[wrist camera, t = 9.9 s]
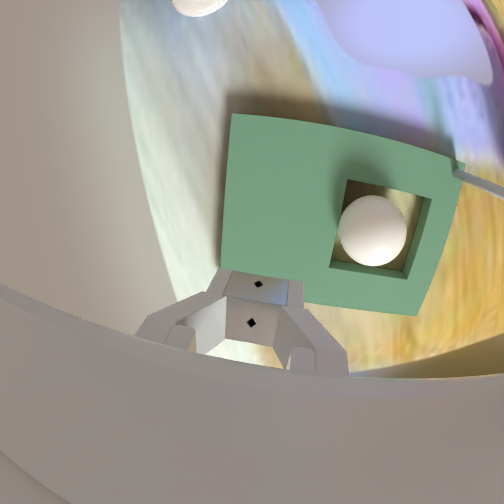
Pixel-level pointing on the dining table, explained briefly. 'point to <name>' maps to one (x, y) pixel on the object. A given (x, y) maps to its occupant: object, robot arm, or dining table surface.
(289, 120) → the putting mat
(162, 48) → the dining table surface
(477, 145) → the dining table surface
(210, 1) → the chess piece
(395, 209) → the ball
